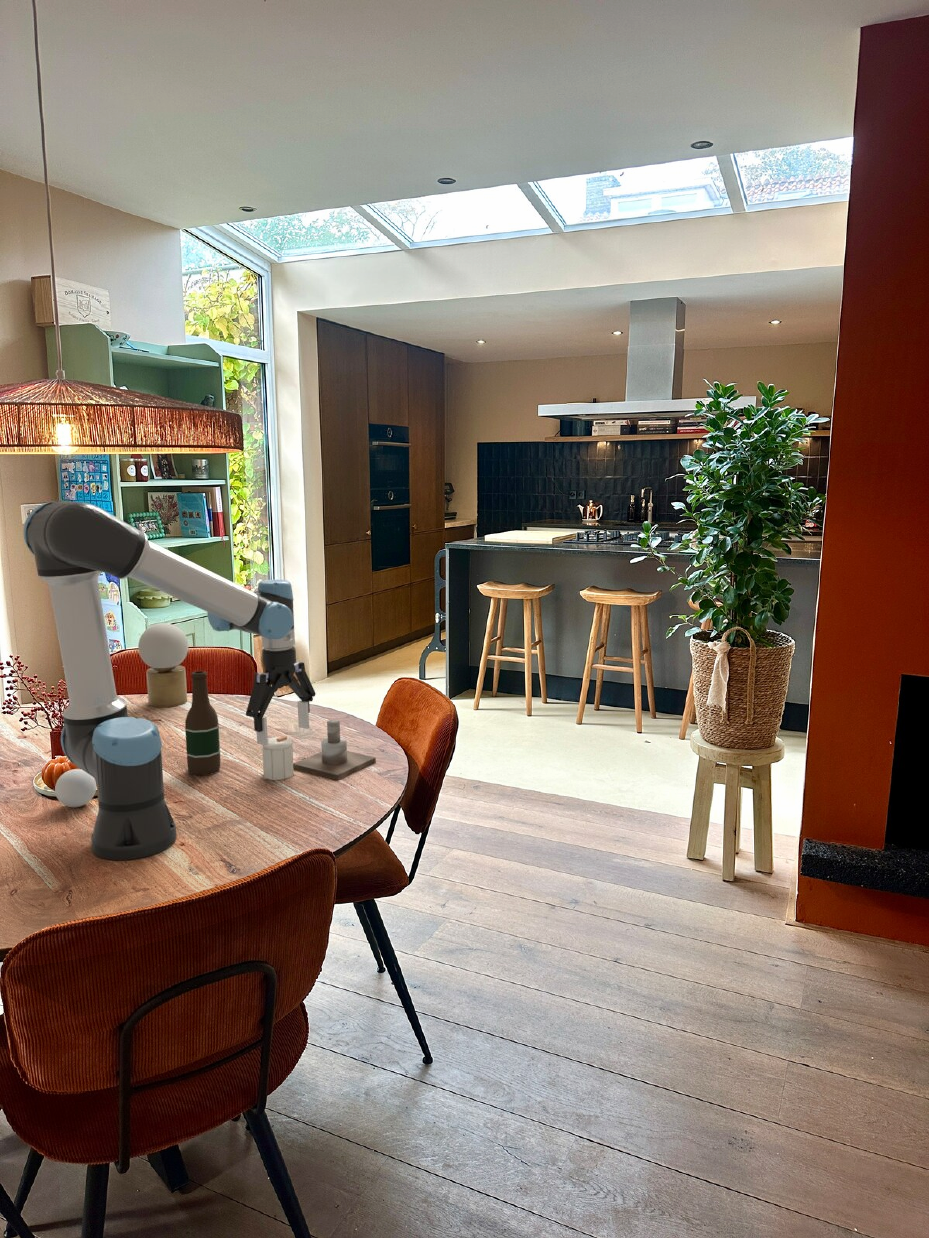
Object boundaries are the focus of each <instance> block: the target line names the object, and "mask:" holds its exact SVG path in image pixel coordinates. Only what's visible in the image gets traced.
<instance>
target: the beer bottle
mask: <svg viewBox="0 0 929 1238" xmlns="http://www.w3.org/2000/svg"><path fill="white" fill-rule="evenodd" d="M207 677H208V673H207V671H204V670H195V671H193V672H191V675H190V678H191V680H192V682H191V683H192V684H191V686H192V687H191V688H192V689H191V691H192V693H191V694H192V695H191V697H192V698H191V707H190V709H188V712H187V715H186V718H185V724H184V726H185V727H184V730H185V731H184V732H185V743H186V744H185V745H186V746H185V747H186V763H187V764H186V765H187V769H188V770H187V773H188V774H190V775H192V776H193V775H194V776H210V775H213V774H216V773H218V772H220V768H221V747H220V727H219V717H218V716H219V715H218V714H217V712H216V710H215V708H214V707H213V706H212V705H211V703H210V699H209V691H208V683H207Z"/></svg>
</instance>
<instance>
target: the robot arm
mask: <svg viewBox="0 0 929 1238" xmlns="http://www.w3.org/2000/svg"><path fill="white" fill-rule="evenodd" d="M22 532H23V539H24V540H23V541H24V543H25V544H26V547H27V548H28V550H29V551H30V553H31V554H32V555H33V556H34V560H35V565H36V566H35V567H36V570H37V575H38V578H39V579H41V580H42V581H44V582H45V583H47V584H48V588H49V595H50V599H51V605H52V612H53V615H54V617H53V618H54V622H55V627H56V633H57V639H58V644H59V651H60V657H61V662H62V668H63V673H64V678H65V679H64V680H65V684H66V689H67V695H68V701H69V702H68V703H69V704H68V705H67V707H66V708H65V709H64V710H63V713H62V716H63V718H62V719H63V723H64V726H63V727H62V729H61V733H60V734H61V735H60V744H61V748H62V752H63V754H64V755H65V756H66V759H68V760H69V761H70V763H71V764H73V765H74V766H75V767H76V768H77V769H82V770H83V771H85V772H86V773H88V774H89V775H91V776H92V777H94V779H95V781H96V792H97V801H98V813H97V816H96V819H95V823H94V826H93V827H94V828H93V833H92V834H91V839H90V840H91V841H90V842H91V851H92V853H93V854H94V855H95V856H96V857H98V858H101V859H104V860H112V861H127V860H128V861H129V860H135V859H141V858H145V857H149V856H152V855H153V856H154V855H155V854H157V853H161V852H162V851H164V850H166V849H168V848H169V847H171V846H172V845H173V844H174V843H175V842H176V840H177V837H178V835H177V826H176V822H175V821H174V818H173V816H172V814H171V812H170V809H169V807H168V805H167V803H166V800H165V791H164V790H165V789H164V776H163V775H164V774H163V757H162V754H163V752H162V743H163V742H162V740H161V735H160V731H159V728H158V726H157V725H156V723H154V722H153V721H151V720H148V719H146V718H142V717H139V718H136V717H135V716H129V714H128V706H127V702H126V701H125V700H124V699H123V698H121V697H119V696H118V695H117V690H116V683H115V677H114V671H113V666H112V665H113V664H112V660H111V658H112V657H111V653H110V646H109V641H108V635H107V629H106V623H105V615H104V610H103V603H102V598H101V591H100V586H99V585H100V584H99V580H98V579H99V577H100V575H101V574H102V573H105V574H107V575H110V576H113V577H115V578H117V579H118V580H119V579H120V580H123V579H127V578H131V579H133V580H135V581H137V582H140V583H142V584H144V585H146V586H148V587H151V588H152V589H156V590H157V591H160V592H162V593H164V594H167V595H169V596H172V597H173V598H175V599H178V600H179V601H182V602H184V603H187V604H188V605H192V606H194V607H196V608H198V609H200V610H203V612H207V613H206V614H207V619H208V622H209V624H210V626H211V629H213V630H214V631H215V632H230V631H234V630H236V631H240V632H245V633H247V634H248V633H249V634H253V635H257V636H260V637H261V647H262V648H263V649H262V651H261V653H262V654H261V655H262V663H263V665H264V668H265V671H264V672H263V673H261V672H255V674H254V677H253V678H254V680H253V681H254V682H253V687H252V691H251V694H250V697H249V701H248V704H247V707H246V712H245V716H246V717H250V718H253V725H254V731H255V732H256V744H258V745H262V746H263V745H268V739H269V738H268V723H267V722H268V721H267V716H265V713H266V711H267V710H268V707H269V705H270V704H271V701H272V699H273V697H274V694H275V693H276V692H278V690H279V689H282V688H283V687H289V688H290V689H291V690H292V692H293V693H294V694H295V695H296V696H297V698H299V700H297V716H298V717H297V718H298V719H297V720H298V728H301V729H306V730H308V729H310V717H309V715H310V712H311V709H310V702H313V700H314V698H315V696H316V695H317V694H316V692H315V688H314V687H313V685H312V682H311V680H310V678H309V676H308V673H307V671H306V666H305V662H303V661H298V660H297V651H296V648H295V645H296V639H295V638H296V637H295V617H294V616H295V614H294V593H293V587H292V584H291V582H290V581H289V580H286V579H266V580H265V579H264V580H261V581H259V582H258V585H257V590H256V591H251V590H250V589H247V588H245V587H243V586H241V585H239V584H237V583H235V582H233V581H231V580H229V579H227V578H225V577H223V576H221V575H220V574H218V573H215V572H213V571H211V570H209V569H207V568H205V567H204V566H203V567H202V566H201V565H199V564H197V563H195V562H193V561H191V560H188V559H187V558H184V557H183V556H181V555H178V554H177V553H174V552H172V551H170V550H168V549H166V548H165V547H163V546H160V545H158V544H156V543H154V542H153V541H150V540H148V537H147V534H146V533H145V531H142V530H141V529H139V528H137V527H135V526H132V525H131V524H129V523H128V522H125V521H124V520H122V519H120V518H118V517H117V516H116V515H113V514H111V513H110V512H108V511H107V510H105V509H103V508H101V507H99V506H97V505H94V504H91V503H88V502H78V501H69V500H58V499H57V500H54V501H50V502H49V501H48V502H46V503H45V502H44V503H42V504H41V505H38V506H37V507H36V508H34V509H33V510H32V511H31V512H29V515H28V516H27V517H26V519H25V521H24V526H23V531H22Z"/></svg>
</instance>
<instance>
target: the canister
mask: <svg viewBox="0 0 929 1238" xmlns="http://www.w3.org/2000/svg"><path fill="white" fill-rule="evenodd" d="M293 763H294V751H293V739H292V738H289V737H288V736H285V735H283V736H279V737H270V738H268V745H262V765H263V766H262V767H263V769H262V770H263V778H264V779H268V780H270V781H272V780H273V781H279V780H286V779H289V778H291V777H293V776H294V775H295V774H294V773H295V772H294V770H295V769H293Z"/></svg>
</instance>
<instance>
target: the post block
mask: <svg viewBox="0 0 929 1238" xmlns="http://www.w3.org/2000/svg"><path fill="white" fill-rule="evenodd" d="M326 726H327V728H326V730H327V731H326V732H327V738H324V739H323V740H321V751H320V752H317V753H315V754H313V755H311V756H308V757H306V758H303V759H301V760H298V761H296V762H293V770H298V771H302V772H305V773H309V774H313V775H317V776H321V777H325V778H329V779H333V780H336V781H338V780H341V779H343V778H345V777H347V776H349V775H351V774H353V773H355V772H358V771H359V770H362V769H365V768H366V767H368V766H371V765H373V764H375V763H376V762H377V761H376V760H377V757H375V756H371V755H366V754H363V753H362V754H361V753H359V752H358V753H357V752H353V751H349V750H348V746H347V745H348V742H347V739H345V738H343V737H341V722H340V719H330V720H327V721H326ZM342 777H343V778H342Z"/></svg>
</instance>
